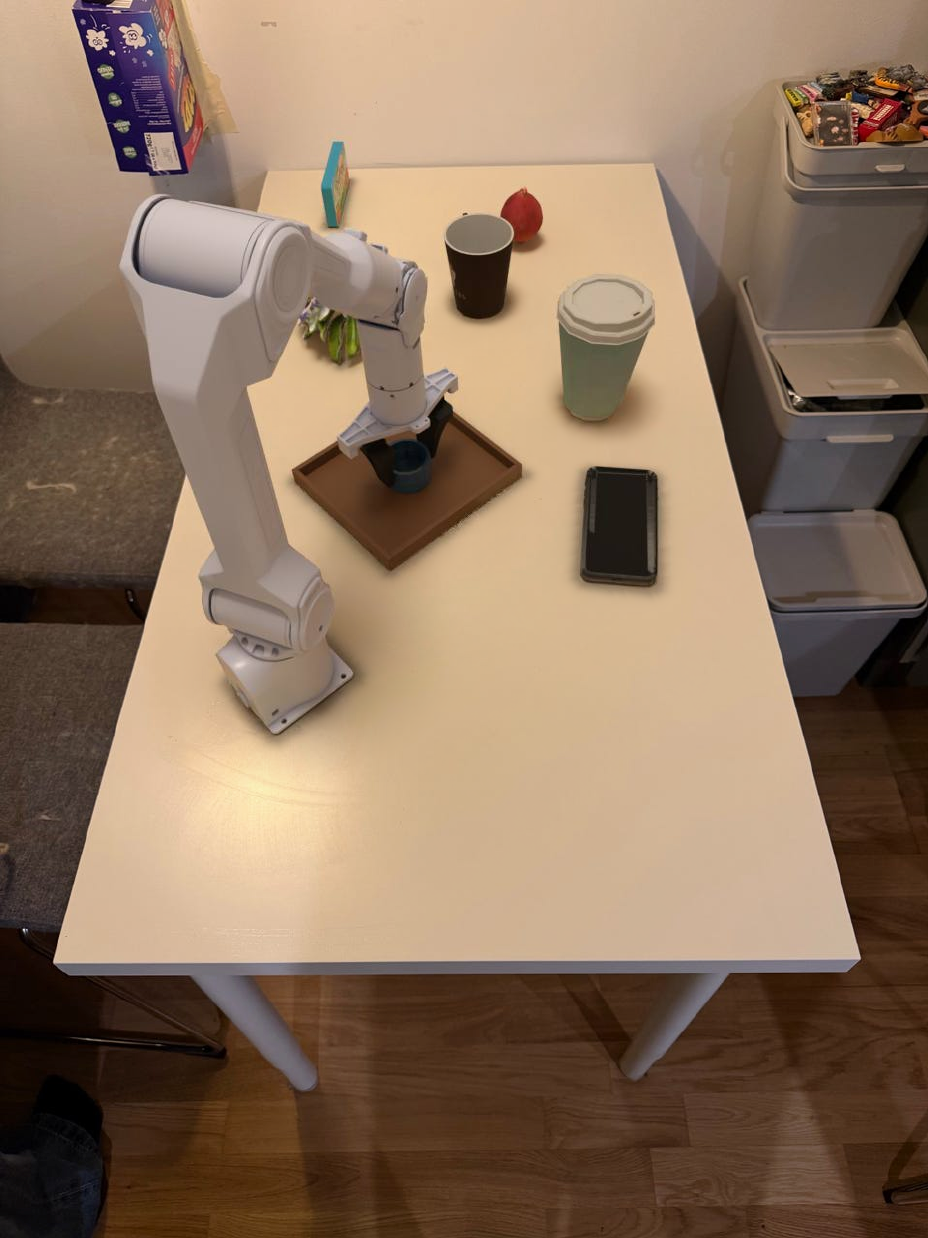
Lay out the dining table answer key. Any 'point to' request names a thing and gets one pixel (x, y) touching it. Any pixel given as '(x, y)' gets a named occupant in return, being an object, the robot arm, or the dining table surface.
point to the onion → (523, 215)
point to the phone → (620, 526)
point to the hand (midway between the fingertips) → (406, 467)
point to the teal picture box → (335, 184)
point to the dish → (411, 466)
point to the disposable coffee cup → (601, 341)
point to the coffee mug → (479, 262)
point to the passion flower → (330, 329)
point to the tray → (408, 521)
